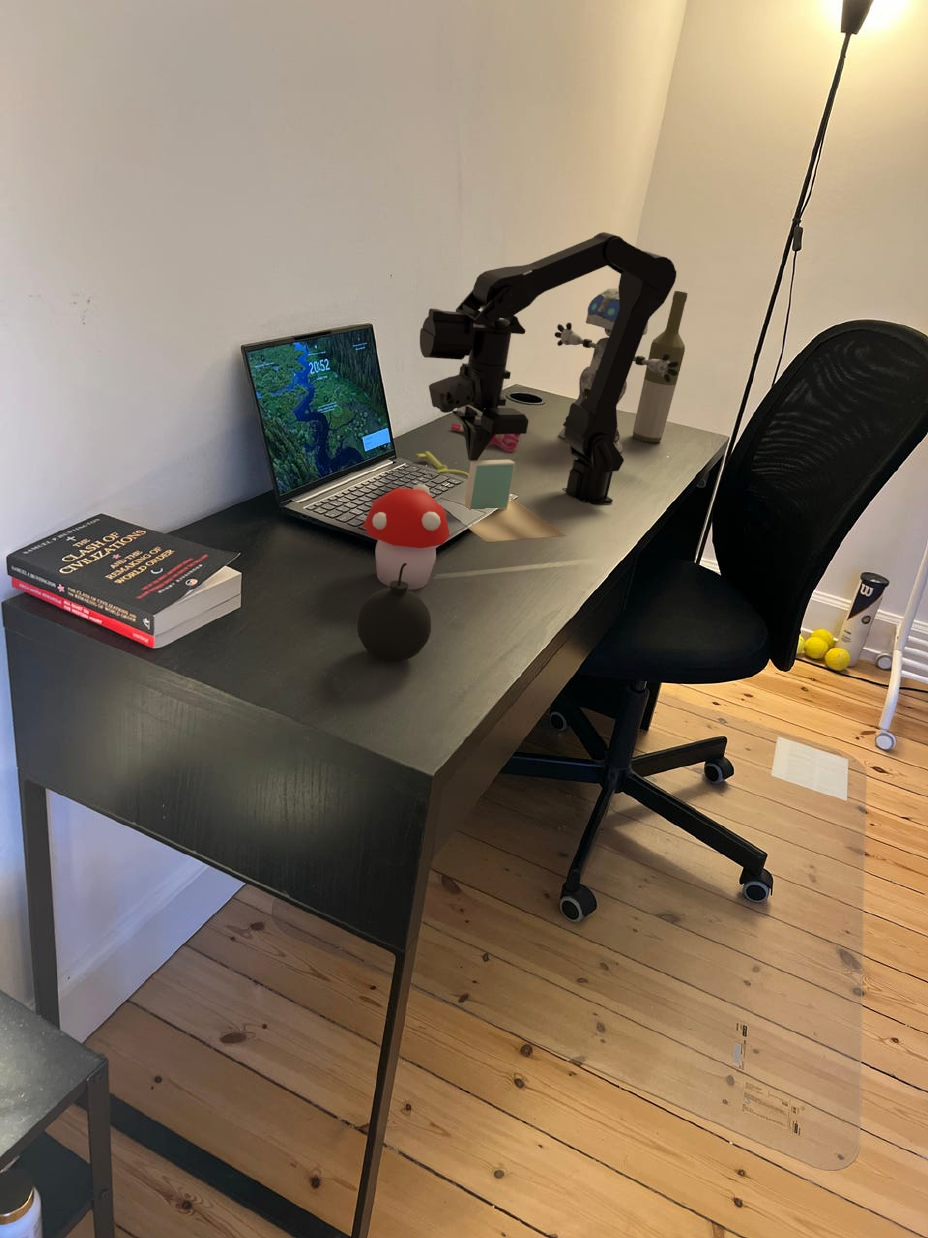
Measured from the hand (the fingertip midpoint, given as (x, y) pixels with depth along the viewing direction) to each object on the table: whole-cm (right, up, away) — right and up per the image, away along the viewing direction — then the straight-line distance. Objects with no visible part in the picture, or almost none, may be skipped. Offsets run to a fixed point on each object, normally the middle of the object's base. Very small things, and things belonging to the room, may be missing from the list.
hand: (472, 460), depth 149 cm
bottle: (+37, +13, +52) cm, 65 cm away
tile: (+2, -8, -2) cm, 8 cm away
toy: (+2, +9, +33) cm, 34 cm away
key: (-5, -1, +13) cm, 14 cm away
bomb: (-9, -29, -46) cm, 55 cm away
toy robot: (+24, +10, +43) cm, 50 cm away
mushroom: (-10, -20, -27) cm, 35 cm away
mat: (+4, -10, -5) cm, 12 cm away
